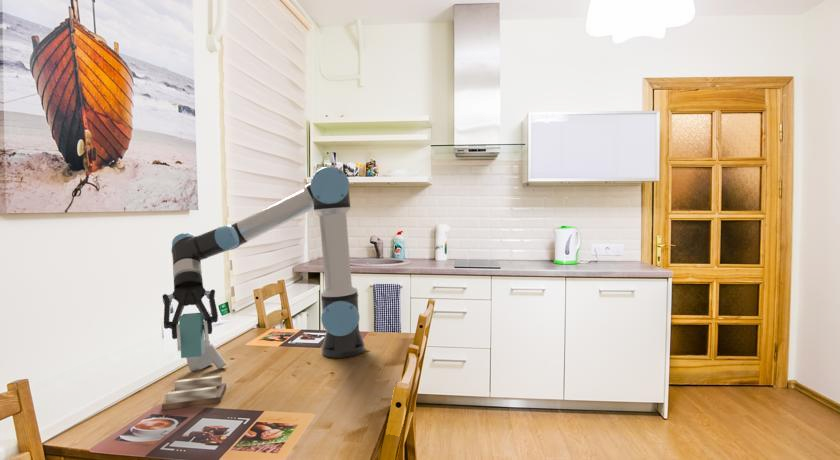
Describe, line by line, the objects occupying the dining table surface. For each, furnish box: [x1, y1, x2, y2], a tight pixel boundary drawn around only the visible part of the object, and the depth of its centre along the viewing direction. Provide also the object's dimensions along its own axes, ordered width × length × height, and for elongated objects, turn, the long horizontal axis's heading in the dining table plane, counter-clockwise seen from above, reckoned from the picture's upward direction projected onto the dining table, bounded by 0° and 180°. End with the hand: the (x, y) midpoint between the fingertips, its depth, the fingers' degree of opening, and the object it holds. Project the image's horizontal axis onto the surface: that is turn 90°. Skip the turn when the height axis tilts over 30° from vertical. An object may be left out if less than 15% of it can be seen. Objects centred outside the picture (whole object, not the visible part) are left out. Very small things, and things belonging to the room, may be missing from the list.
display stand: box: [161, 374, 227, 411], centre depth 121 cm, size 14×10×4 cm
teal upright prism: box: [178, 312, 205, 359], centre depth 121 cm, size 5×4×11 cm
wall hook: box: [185, 340, 228, 372], centre depth 145 cm, size 8×10×10 cm
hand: (193, 345), depth 118 cm, fingers closed on teal upright prism, 6 cm apart
